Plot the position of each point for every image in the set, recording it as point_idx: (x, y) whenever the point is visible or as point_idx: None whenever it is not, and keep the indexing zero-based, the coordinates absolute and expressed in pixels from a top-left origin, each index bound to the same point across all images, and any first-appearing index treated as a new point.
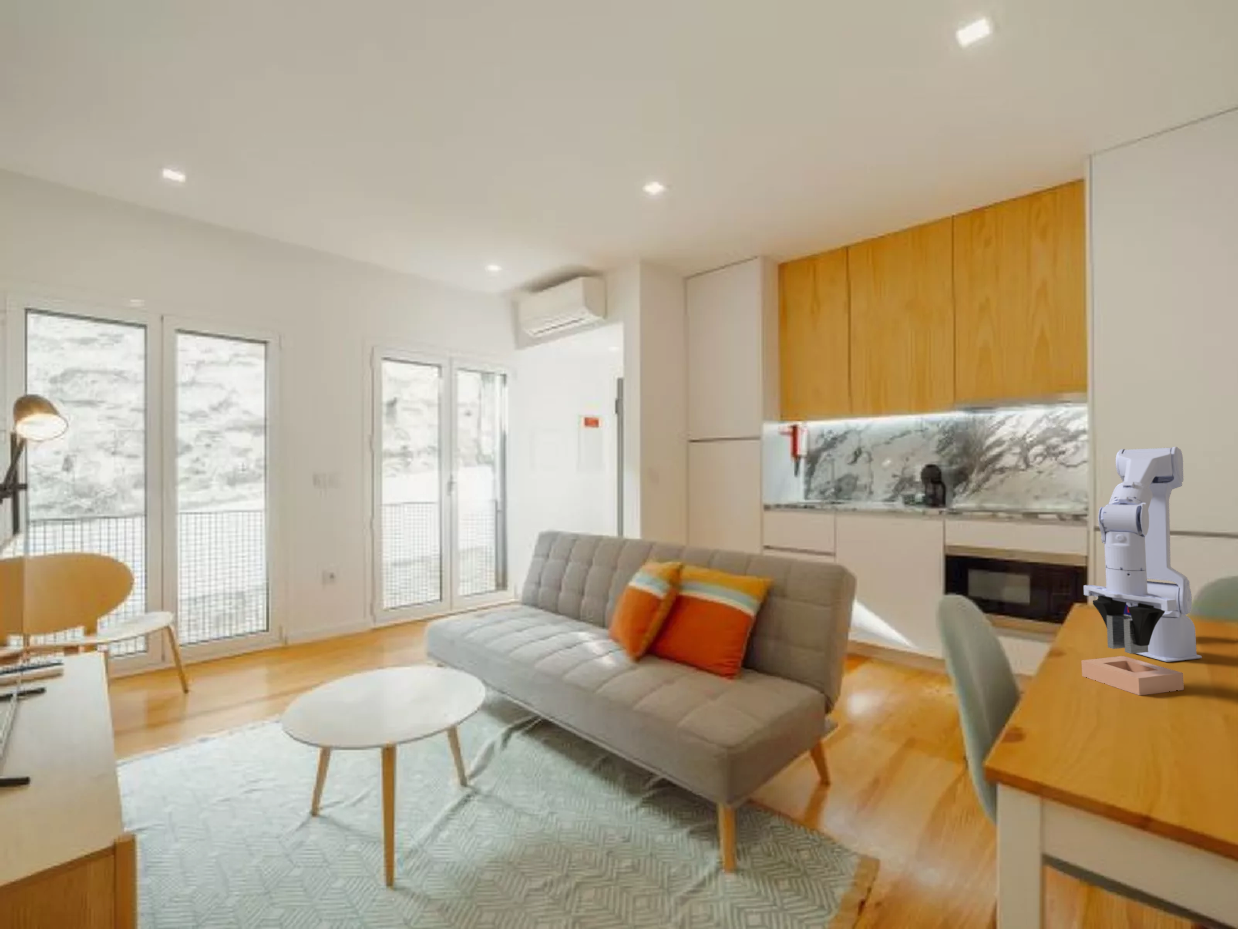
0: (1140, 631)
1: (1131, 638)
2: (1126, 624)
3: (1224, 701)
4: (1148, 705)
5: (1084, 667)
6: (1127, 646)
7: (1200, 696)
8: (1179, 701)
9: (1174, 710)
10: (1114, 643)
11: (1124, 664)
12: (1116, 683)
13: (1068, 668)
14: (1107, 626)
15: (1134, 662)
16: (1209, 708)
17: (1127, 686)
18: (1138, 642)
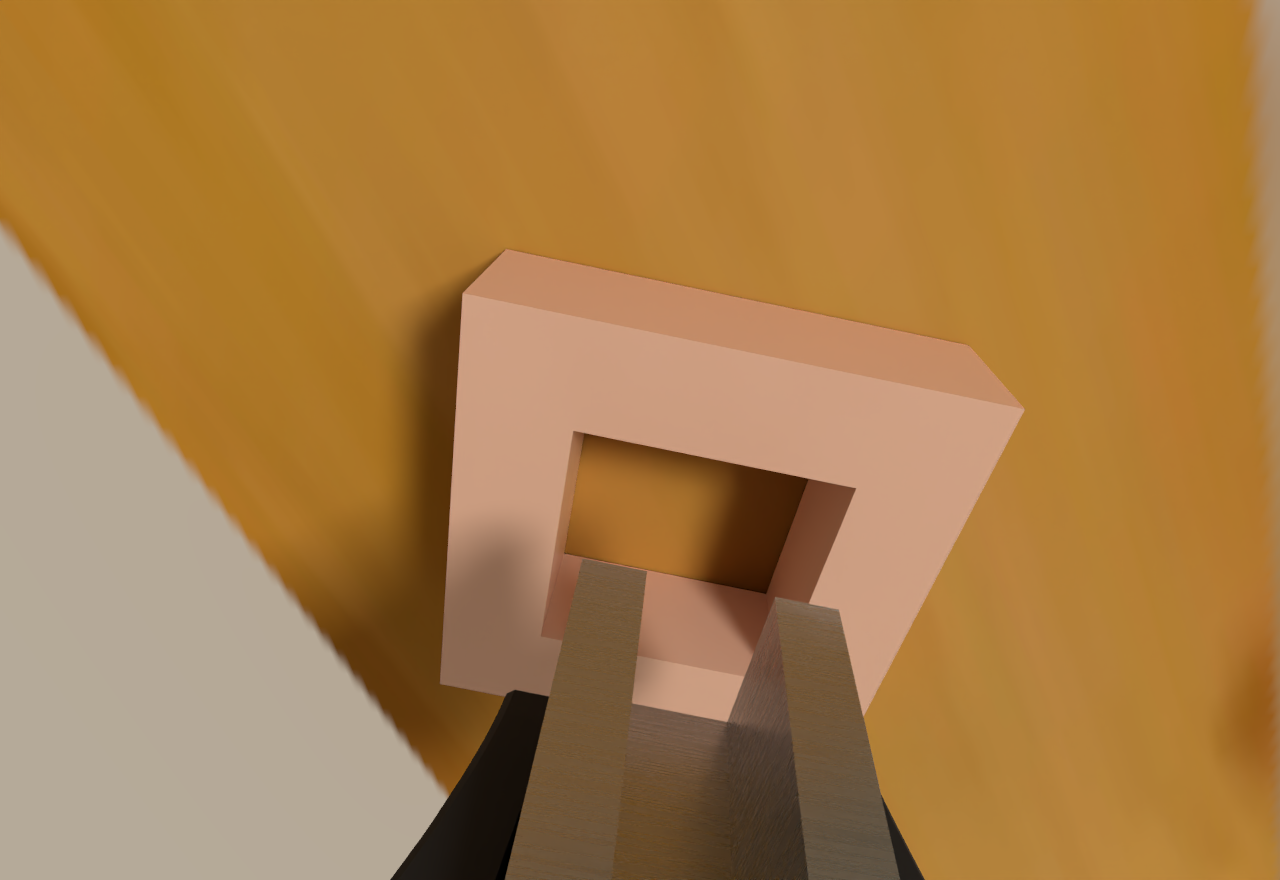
0: (408, 861)
1: (544, 722)
2: None
3: (285, 574)
4: (332, 48)
5: (973, 375)
6: (606, 618)
7: (374, 559)
8: (342, 367)
9: (208, 121)
10: (775, 659)
11: None
12: (680, 298)
13: (1114, 452)
14: (891, 875)
15: (719, 680)
16: (207, 387)
17: (586, 277)
18: (512, 717)
